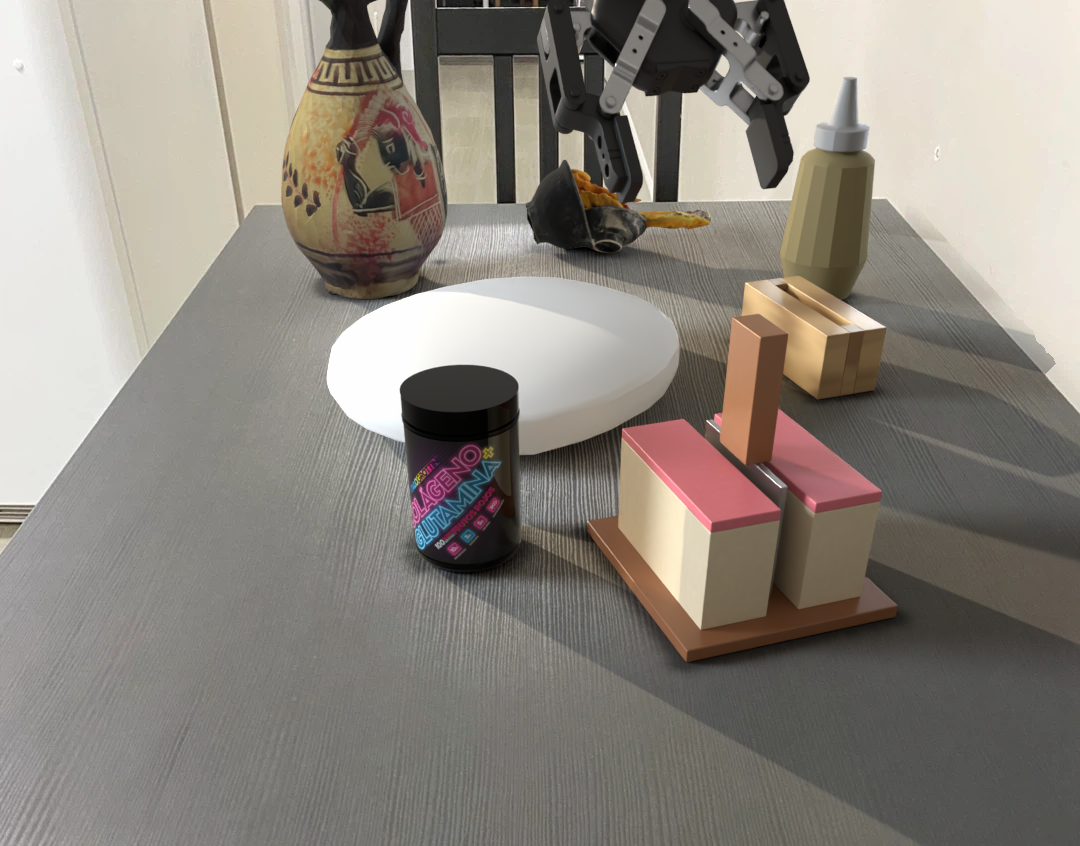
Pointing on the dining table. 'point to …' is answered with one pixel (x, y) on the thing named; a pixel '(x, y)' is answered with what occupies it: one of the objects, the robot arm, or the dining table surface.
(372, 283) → the ceramic jug
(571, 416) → the white round flat disc
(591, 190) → the fried shrimp in bowl
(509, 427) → the supplement container
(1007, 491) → the dining table surface
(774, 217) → the dining table surface
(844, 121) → the squeeze bottle
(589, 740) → the dining table surface
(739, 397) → the knife
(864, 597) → the cake
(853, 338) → the knife block
